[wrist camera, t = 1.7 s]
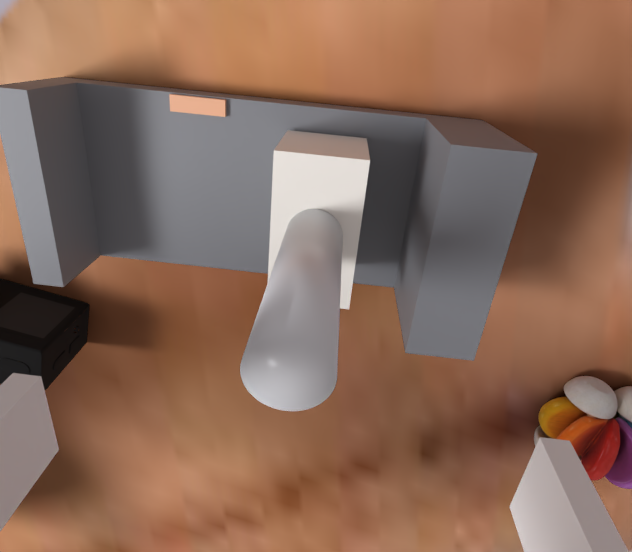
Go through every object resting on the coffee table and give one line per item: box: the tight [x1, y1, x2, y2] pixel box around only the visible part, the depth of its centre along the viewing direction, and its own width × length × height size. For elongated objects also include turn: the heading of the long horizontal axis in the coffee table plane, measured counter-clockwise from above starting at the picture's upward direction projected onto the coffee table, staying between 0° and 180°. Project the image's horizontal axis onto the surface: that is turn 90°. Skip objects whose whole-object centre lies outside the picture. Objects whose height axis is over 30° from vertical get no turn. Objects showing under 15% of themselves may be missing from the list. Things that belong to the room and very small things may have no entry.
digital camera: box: [0, 279, 89, 390], centre depth 36 cm, size 10×5×7 cm, turn 73°
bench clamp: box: [0, 77, 538, 361], centre depth 29 cm, size 28×12×10 cm, turn 85°
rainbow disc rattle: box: [534, 376, 632, 489], centre depth 37 cm, size 8×10×7 cm
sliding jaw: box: [240, 130, 370, 411], centre depth 23 cm, size 5×9×18 cm, turn 175°
